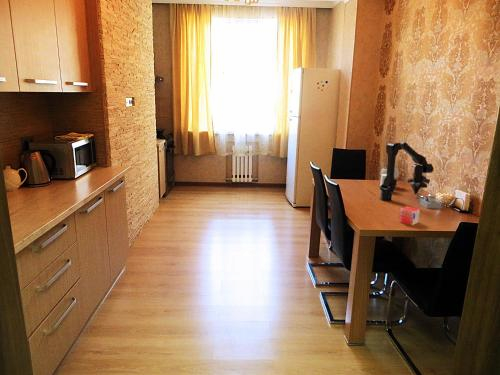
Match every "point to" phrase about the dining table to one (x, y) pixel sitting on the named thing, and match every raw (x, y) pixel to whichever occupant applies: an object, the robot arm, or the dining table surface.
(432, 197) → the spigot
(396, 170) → the chalice
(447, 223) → the dining table surface
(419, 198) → the pin mount
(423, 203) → the socket
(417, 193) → the lock pin
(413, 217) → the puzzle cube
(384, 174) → the supplement box
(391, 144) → the robot arm
